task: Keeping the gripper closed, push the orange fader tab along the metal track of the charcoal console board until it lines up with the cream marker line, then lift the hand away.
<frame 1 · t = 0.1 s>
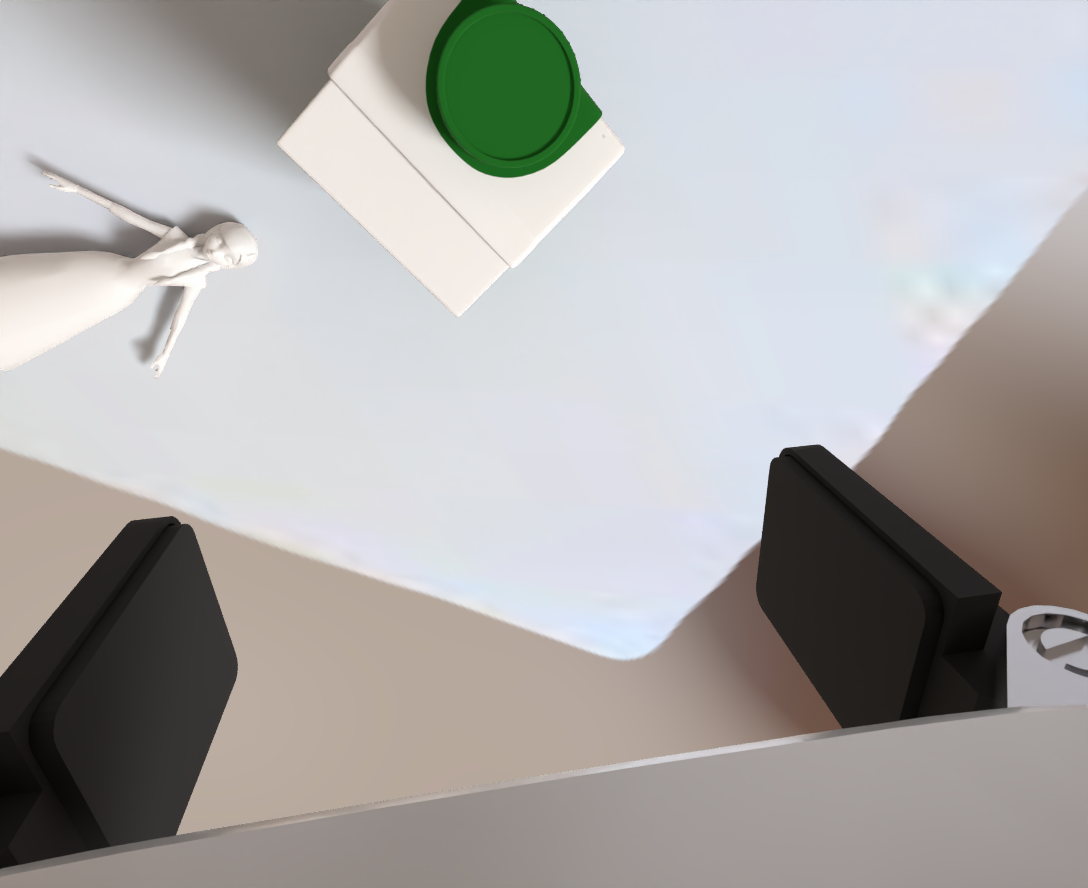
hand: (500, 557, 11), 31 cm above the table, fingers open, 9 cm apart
woman figurine: (110, 278, 37), on the table
milk carton: (450, 144, 36), on the table
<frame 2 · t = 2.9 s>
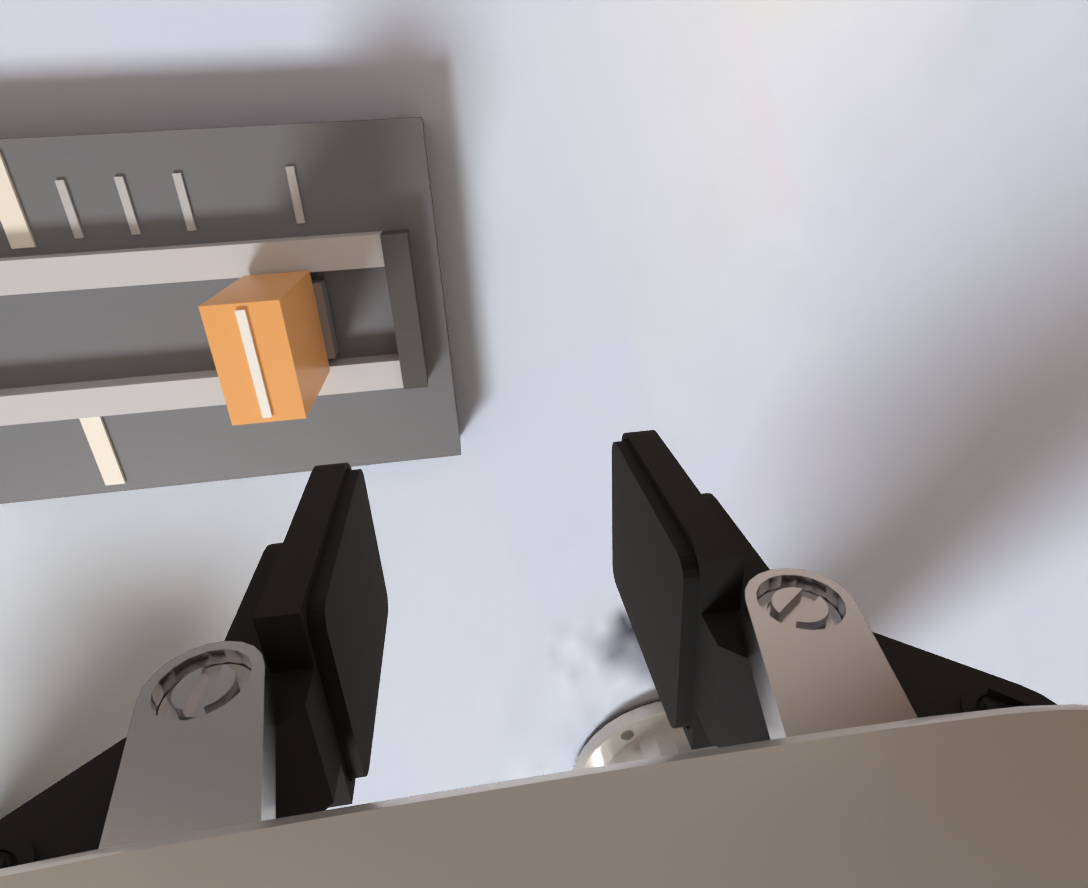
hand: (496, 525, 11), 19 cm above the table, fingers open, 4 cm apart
fader: (276, 339, 23), point 5 cm above the table, slide at 0.0 cm
console: (184, 315, 27), on the table
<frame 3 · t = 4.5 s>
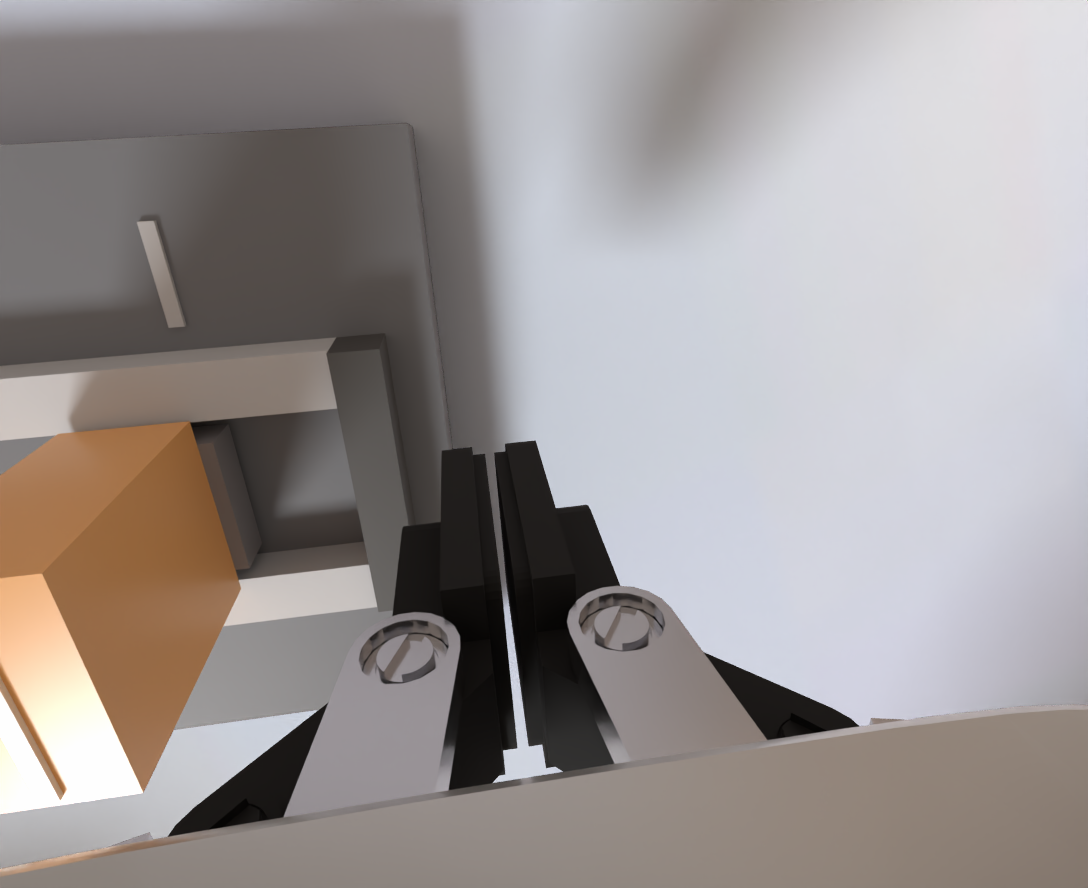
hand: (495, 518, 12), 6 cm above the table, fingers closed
fader: (108, 576, 11), point 5 cm above the table, slide at 0.0 cm
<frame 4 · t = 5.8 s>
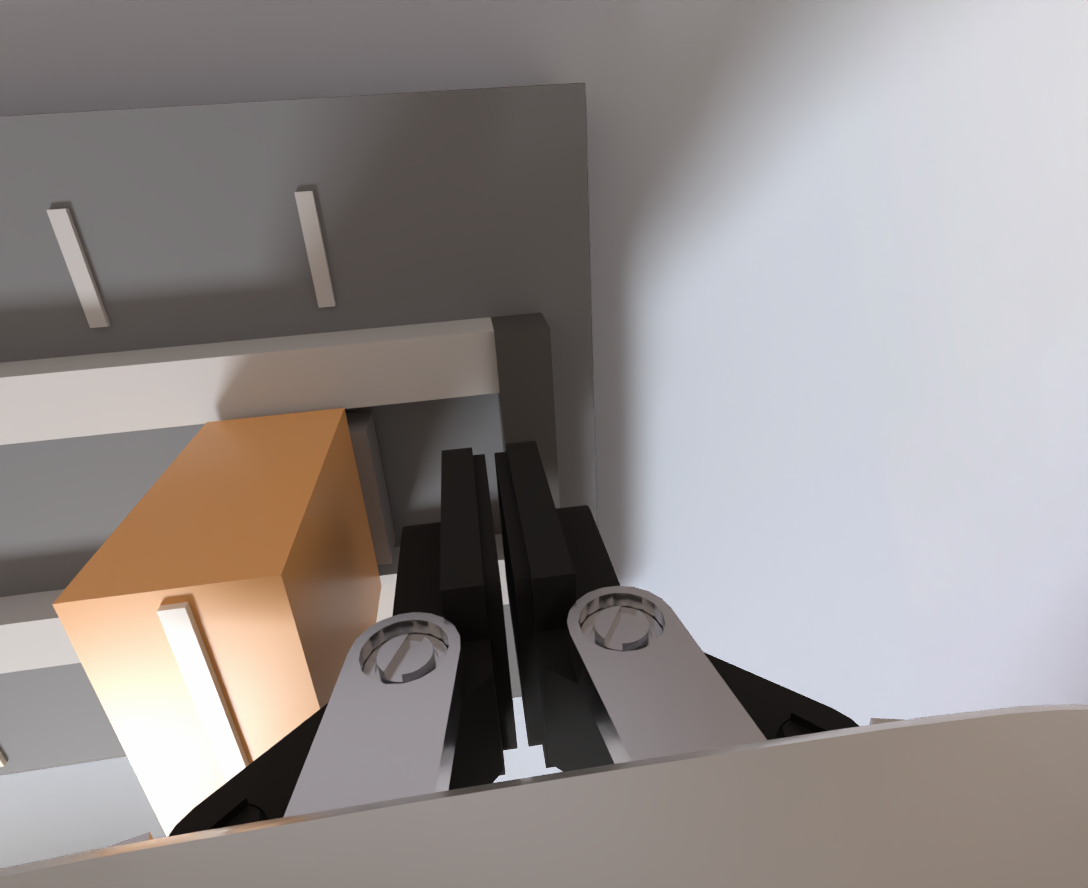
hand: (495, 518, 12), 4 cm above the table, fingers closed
fader: (275, 574, 11), point 5 cm above the table, slide at 0.0 cm, touching gripper
console: (107, 464, 15), on the table
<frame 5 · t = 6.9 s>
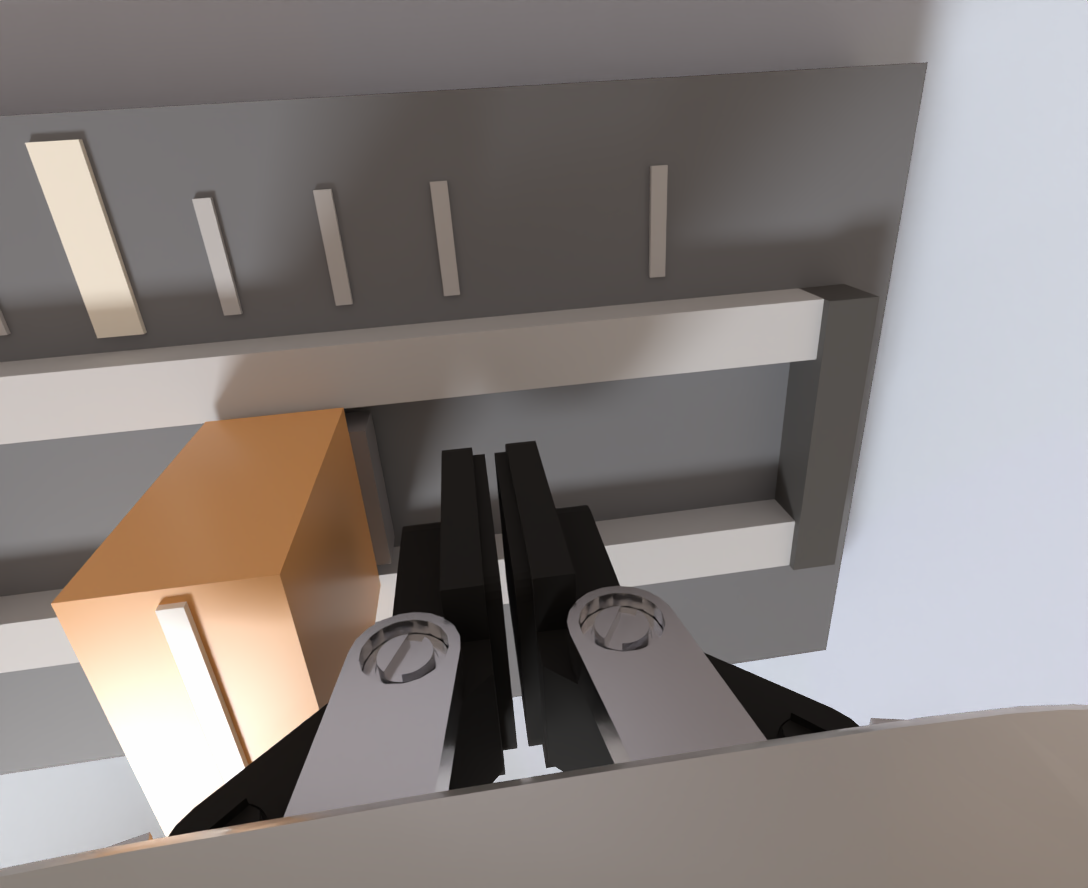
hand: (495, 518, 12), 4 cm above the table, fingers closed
fader: (274, 574, 11), point 5 cm above the table, slide at 6.4 cm, touching gripper
console: (385, 434, 15), on the table
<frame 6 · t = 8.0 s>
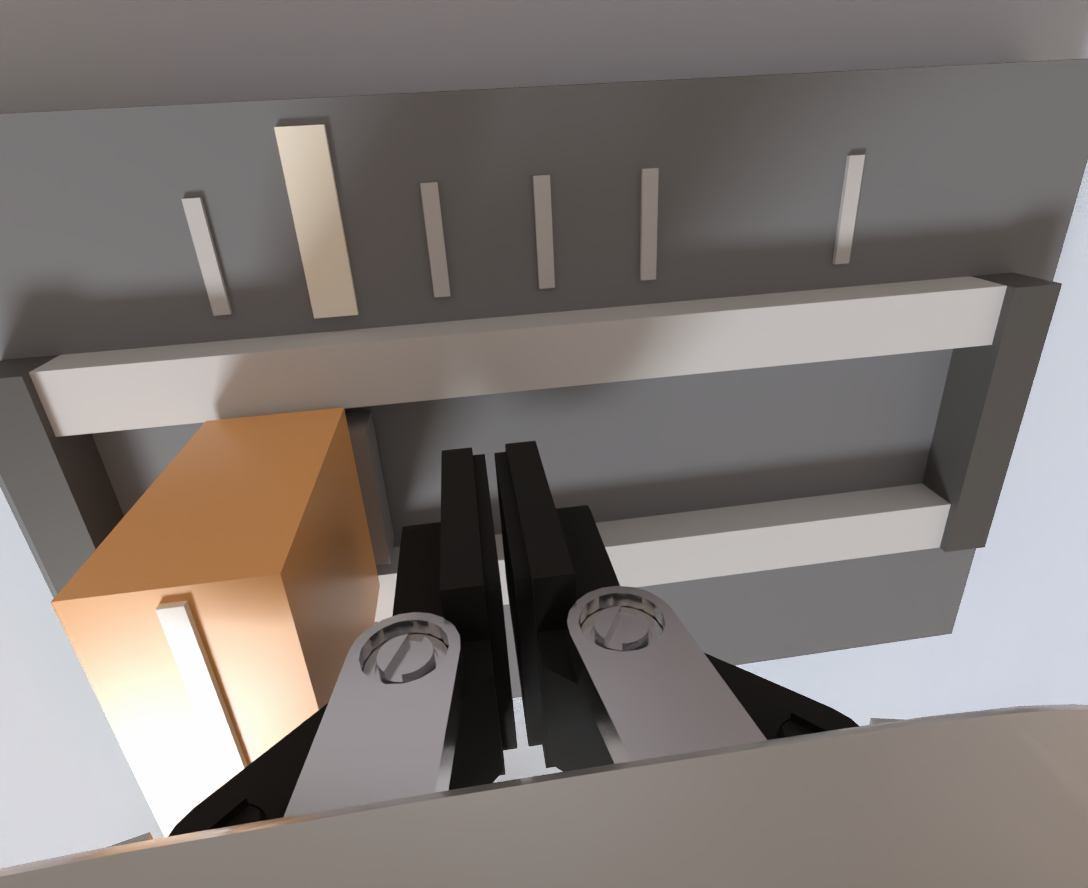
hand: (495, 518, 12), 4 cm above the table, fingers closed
fader: (274, 573, 11), point 5 cm above the table, slide at 10.2 cm, touching gripper
console: (542, 418, 16), on the table
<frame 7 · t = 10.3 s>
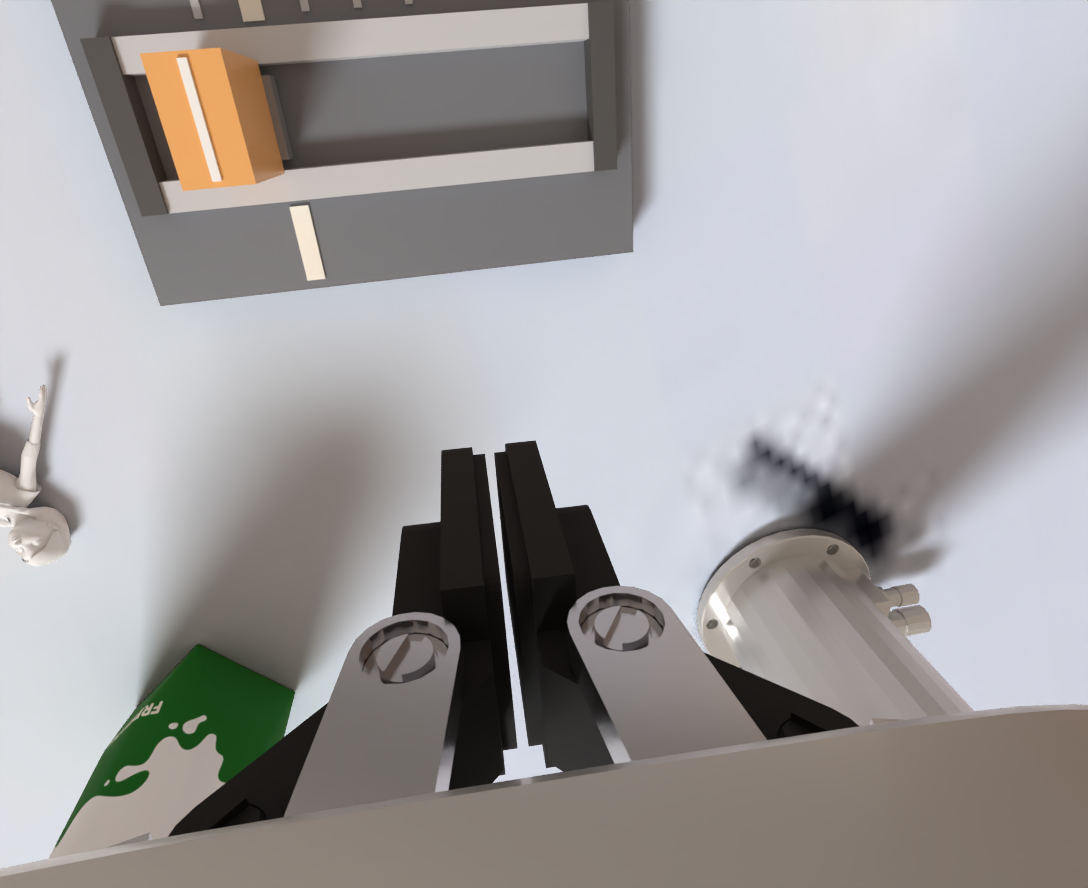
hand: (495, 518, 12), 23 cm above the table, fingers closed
fader: (225, 121, 24), point 5 cm above the table, slide at 10.2 cm
console: (379, 111, 29), on the table
milk carton: (216, 696, 42), on the table
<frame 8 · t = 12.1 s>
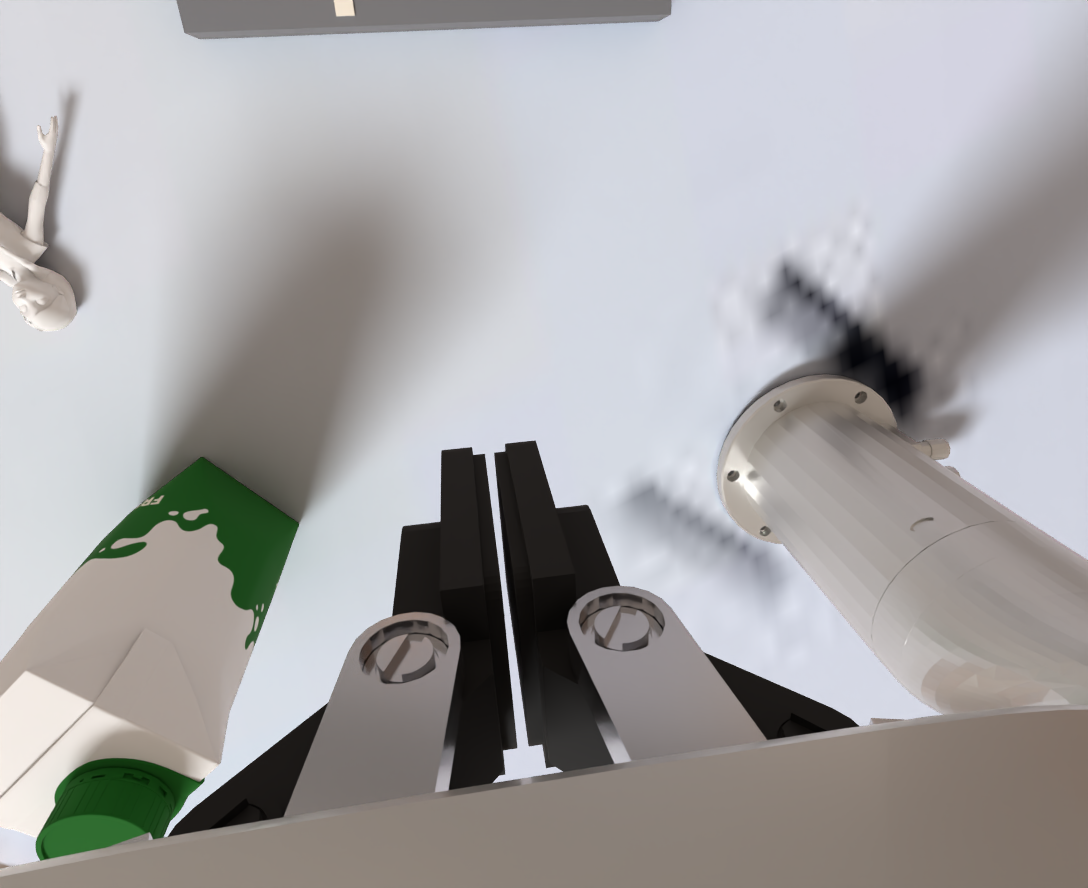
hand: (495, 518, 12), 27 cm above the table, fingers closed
milk carton: (218, 523, 41), on the table
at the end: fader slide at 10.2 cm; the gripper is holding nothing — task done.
